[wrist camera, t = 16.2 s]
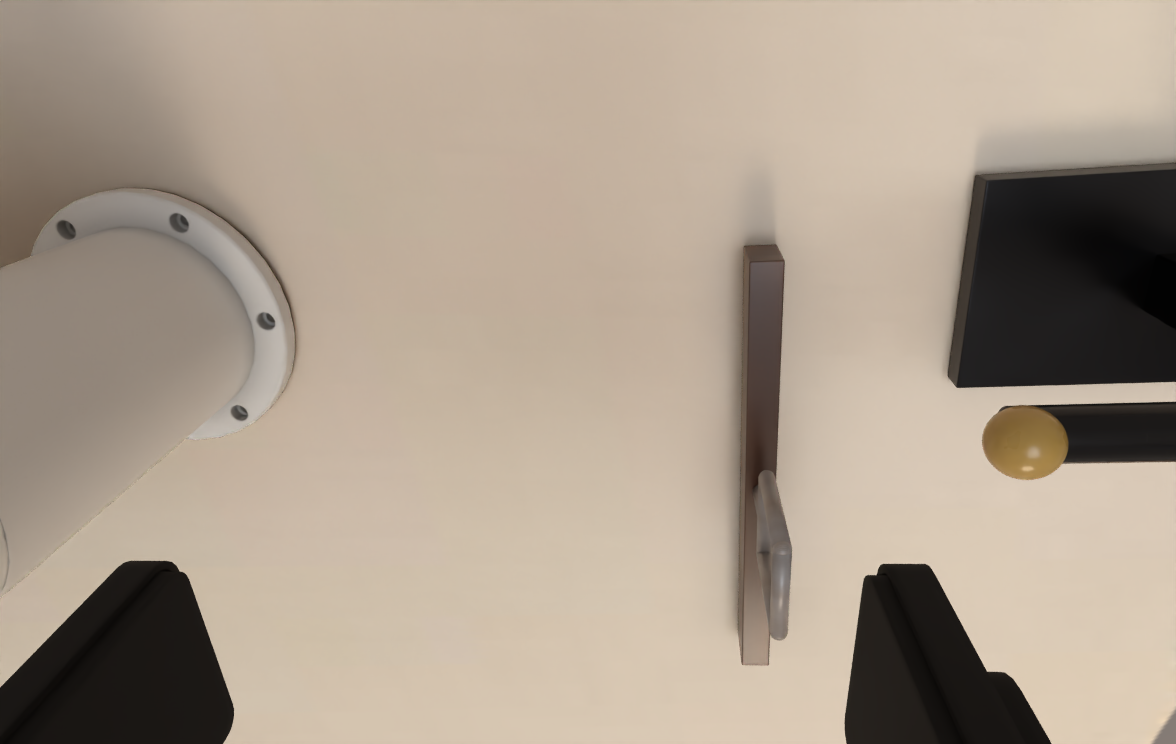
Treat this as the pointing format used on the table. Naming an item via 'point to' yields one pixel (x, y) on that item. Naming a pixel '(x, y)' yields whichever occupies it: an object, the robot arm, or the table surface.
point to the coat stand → (1070, 311)
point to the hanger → (761, 462)
